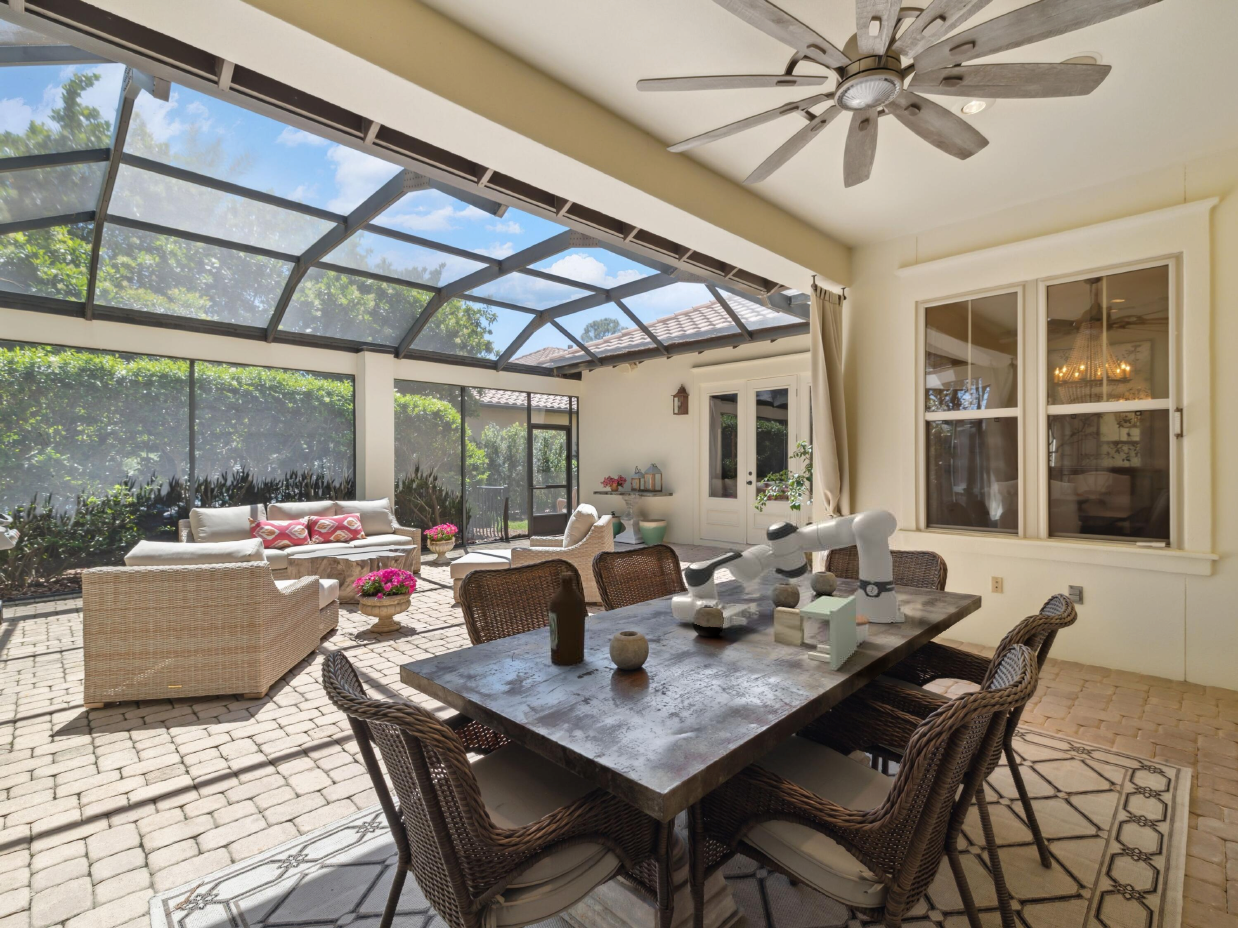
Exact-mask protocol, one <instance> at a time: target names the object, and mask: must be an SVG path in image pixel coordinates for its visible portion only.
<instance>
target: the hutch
mask: <svg viewBox="0 0 1238 928" xmlns="http://www.w3.org/2000/svg"><path fill="white" fill-rule="evenodd" d="M798 610H799V616H804V617H809V618H815V619H822V620H828V621H829V645H823V644H817V645H816V651H817V652H812V651H809V652H807V659H809V660H814V661H820V662H825V663H829V670H830V669H831V670H830V671H834V670H836V671H837V670H839V668H840V667H841V666H842V665H843V664H844V663H845V662H846V661H847V660H848V659H849V658H850V657H851V656H852V655H853V654H854V653H855V652H856V651H858V650H857V649H858V648H857V646H858V645H857V635H856V596H854V595H850V596H849V597H847V598H844V597H835V596H827V595H822V596H821V597H819V598H817V599H815V600H813V601H812V602H810V603H809V604H807V605H806V606H804V607H802V608H801V609H798ZM855 650H856V651H855ZM854 651H855V652H854ZM818 652H821V653H818ZM823 653H826V654H823ZM827 653H828V654H827ZM852 653H853V654H852ZM850 655H851V656H850ZM848 657H849V658H848ZM847 658H848V659H847ZM845 660H846V661H845ZM843 662H844V663H843ZM841 664H842V665H841Z"/></svg>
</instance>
